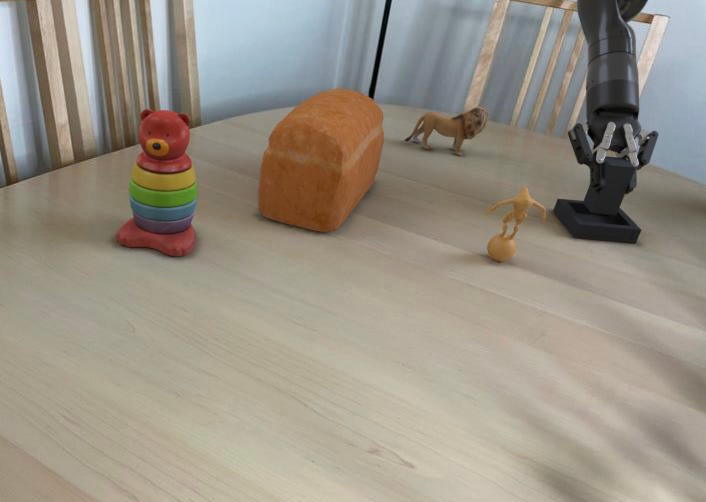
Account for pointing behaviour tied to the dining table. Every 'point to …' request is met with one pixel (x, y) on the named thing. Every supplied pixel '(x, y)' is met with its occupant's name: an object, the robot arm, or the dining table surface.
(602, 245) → the dining table surface
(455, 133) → the lion figurine
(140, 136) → the stacking bear
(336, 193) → the bread
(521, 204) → the figurine
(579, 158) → the robot arm
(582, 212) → the black square tray
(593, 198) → the pad block
